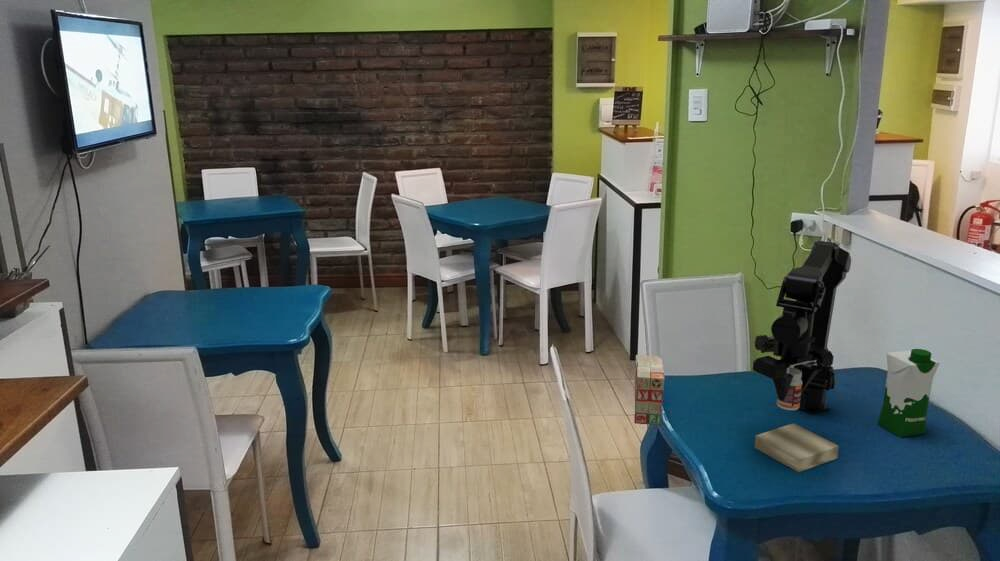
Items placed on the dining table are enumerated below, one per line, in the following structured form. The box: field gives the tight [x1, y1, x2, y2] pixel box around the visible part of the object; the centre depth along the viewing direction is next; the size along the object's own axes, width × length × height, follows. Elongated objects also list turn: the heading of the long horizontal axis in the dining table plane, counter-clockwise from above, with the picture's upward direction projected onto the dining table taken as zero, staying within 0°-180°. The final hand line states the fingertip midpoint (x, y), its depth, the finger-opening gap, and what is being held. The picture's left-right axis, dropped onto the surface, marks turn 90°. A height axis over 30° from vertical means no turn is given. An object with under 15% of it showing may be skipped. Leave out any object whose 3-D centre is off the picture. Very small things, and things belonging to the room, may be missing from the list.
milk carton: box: [877, 348, 940, 438], centre depth 172 cm, size 9×9×20 cm
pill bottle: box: [776, 367, 803, 411], centre depth 164 cm, size 5×5×8 cm
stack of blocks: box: [634, 354, 665, 426], centre depth 185 cm, size 21×6×12 cm, turn 170°
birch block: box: [754, 423, 840, 473], centre depth 164 cm, size 12×12×3 cm
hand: (789, 397), depth 165 cm, fingers closed on pill bottle, 5 cm apart
